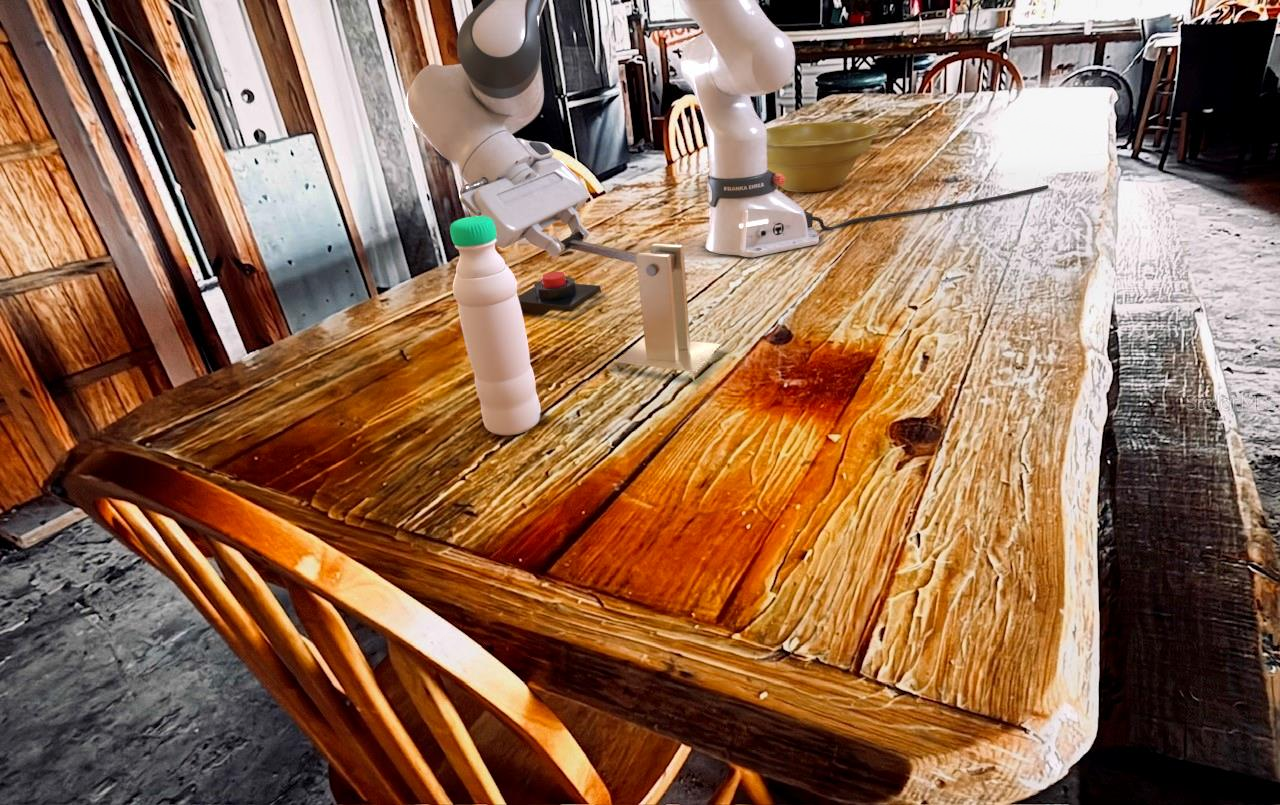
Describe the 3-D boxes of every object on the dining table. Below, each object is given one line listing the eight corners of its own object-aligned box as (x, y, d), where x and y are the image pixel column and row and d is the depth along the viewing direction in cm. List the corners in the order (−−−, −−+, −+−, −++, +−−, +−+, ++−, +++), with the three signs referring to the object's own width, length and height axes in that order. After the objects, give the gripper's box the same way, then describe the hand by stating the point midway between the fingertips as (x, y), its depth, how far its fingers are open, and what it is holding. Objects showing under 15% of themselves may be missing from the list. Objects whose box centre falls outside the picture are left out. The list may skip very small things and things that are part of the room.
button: (538, 288, 120) (536, 278, 119) (551, 280, 123) (549, 270, 122) (558, 289, 118) (556, 279, 117) (570, 282, 121) (569, 272, 120)
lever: (554, 256, 95) (553, 239, 94) (573, 245, 99) (573, 228, 98) (662, 280, 89) (663, 262, 88) (678, 268, 93) (679, 250, 92)
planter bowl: (892, 194, 167) (897, 134, 160) (756, 207, 168) (755, 148, 162) (856, 169, 195) (859, 117, 189) (740, 180, 197) (739, 129, 190)
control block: (513, 312, 121) (508, 290, 119) (545, 292, 128) (541, 271, 127) (572, 318, 116) (568, 295, 114) (602, 297, 123) (599, 275, 121)
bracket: (616, 370, 97) (602, 258, 89) (645, 344, 104) (634, 238, 96) (696, 381, 91) (688, 263, 84) (721, 352, 98) (716, 241, 91)
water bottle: (488, 412, 89) (442, 215, 77) (543, 405, 90) (506, 208, 78) (482, 441, 83) (431, 232, 71) (541, 433, 83) (501, 223, 72)
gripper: (462, 171, 86) (541, 254, 86) (553, 140, 101) (620, 211, 102) (442, 207, 90) (517, 286, 90) (533, 172, 105) (597, 240, 106)
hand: (572, 246), depth 96 cm, fingers closed on lever, 5 cm apart
